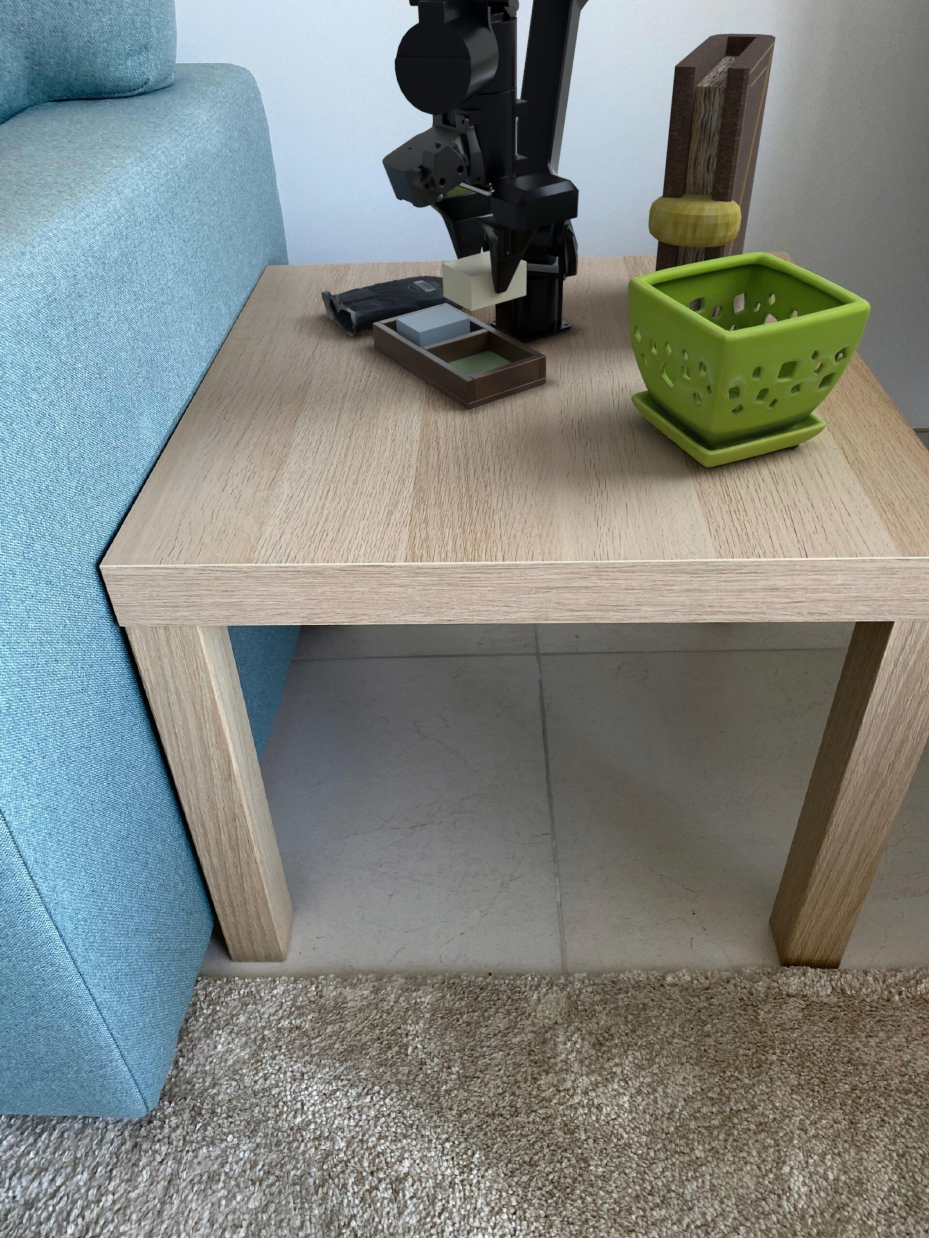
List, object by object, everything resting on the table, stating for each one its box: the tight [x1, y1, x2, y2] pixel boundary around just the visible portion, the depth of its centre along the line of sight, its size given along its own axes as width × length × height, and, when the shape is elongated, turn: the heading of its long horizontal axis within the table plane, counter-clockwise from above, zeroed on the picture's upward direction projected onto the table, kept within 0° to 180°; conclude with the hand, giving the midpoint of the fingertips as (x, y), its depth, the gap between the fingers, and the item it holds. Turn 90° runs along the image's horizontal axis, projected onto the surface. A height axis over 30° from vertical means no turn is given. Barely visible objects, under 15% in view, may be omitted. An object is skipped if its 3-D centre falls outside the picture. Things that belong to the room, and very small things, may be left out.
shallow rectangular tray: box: [372, 303, 547, 410], centre depth 93 cm, size 9×17×3 cm, turn 34°
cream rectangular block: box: [441, 251, 526, 312], centre depth 83 cm, size 6×4×3 cm
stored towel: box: [396, 305, 470, 348], centre depth 95 cm, size 6×4×3 cm
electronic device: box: [321, 275, 464, 337], centre depth 103 cm, size 9×6×15 cm
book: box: [647, 33, 776, 317], centre depth 93 cm, size 22×8×25 cm, turn 159°
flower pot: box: [627, 251, 871, 469], centre depth 77 cm, size 14×14×13 cm
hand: (484, 285), depth 84 cm, fingers closed on cream rectangular block, 4 cm apart
